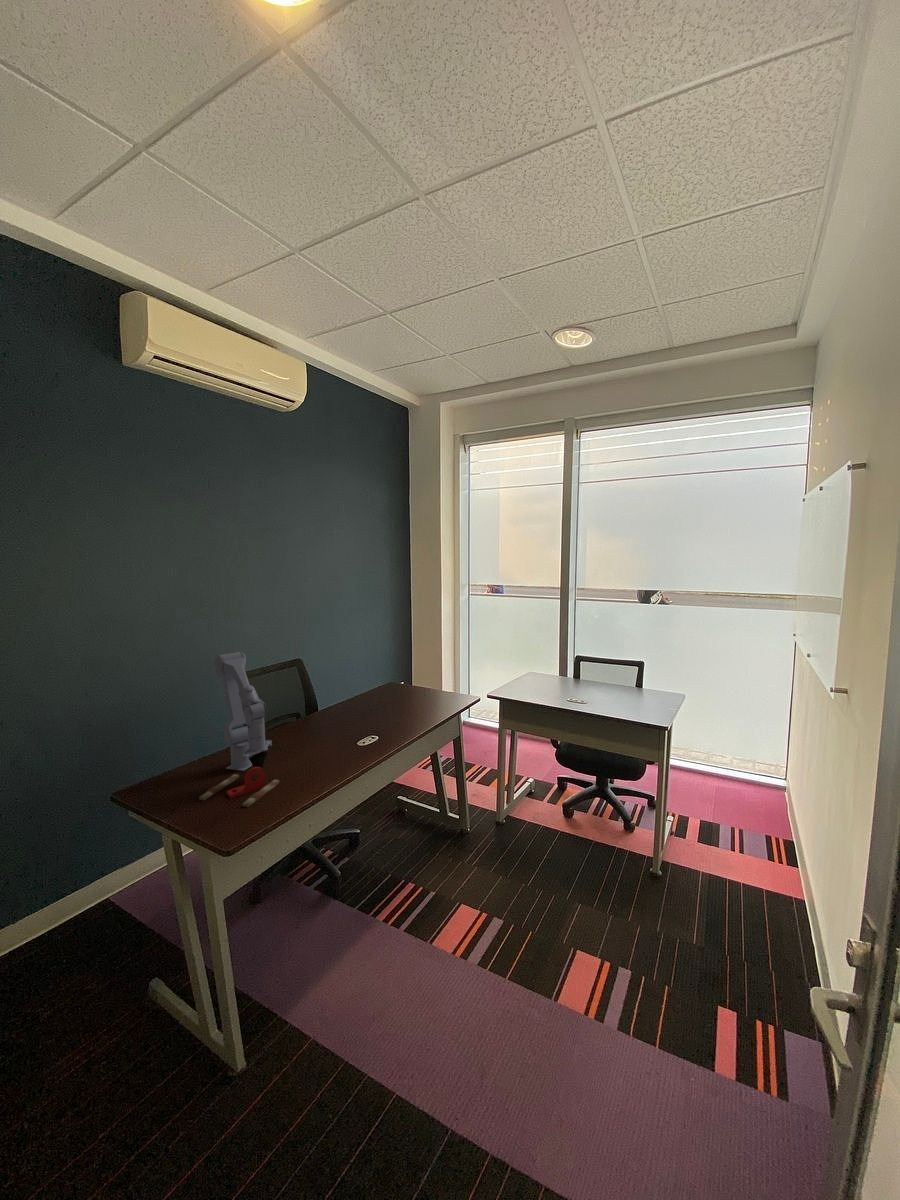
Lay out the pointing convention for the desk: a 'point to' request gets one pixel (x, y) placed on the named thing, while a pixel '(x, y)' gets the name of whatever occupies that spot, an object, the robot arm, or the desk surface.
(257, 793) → the guide track
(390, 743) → the desk surface
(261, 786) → the bracket
